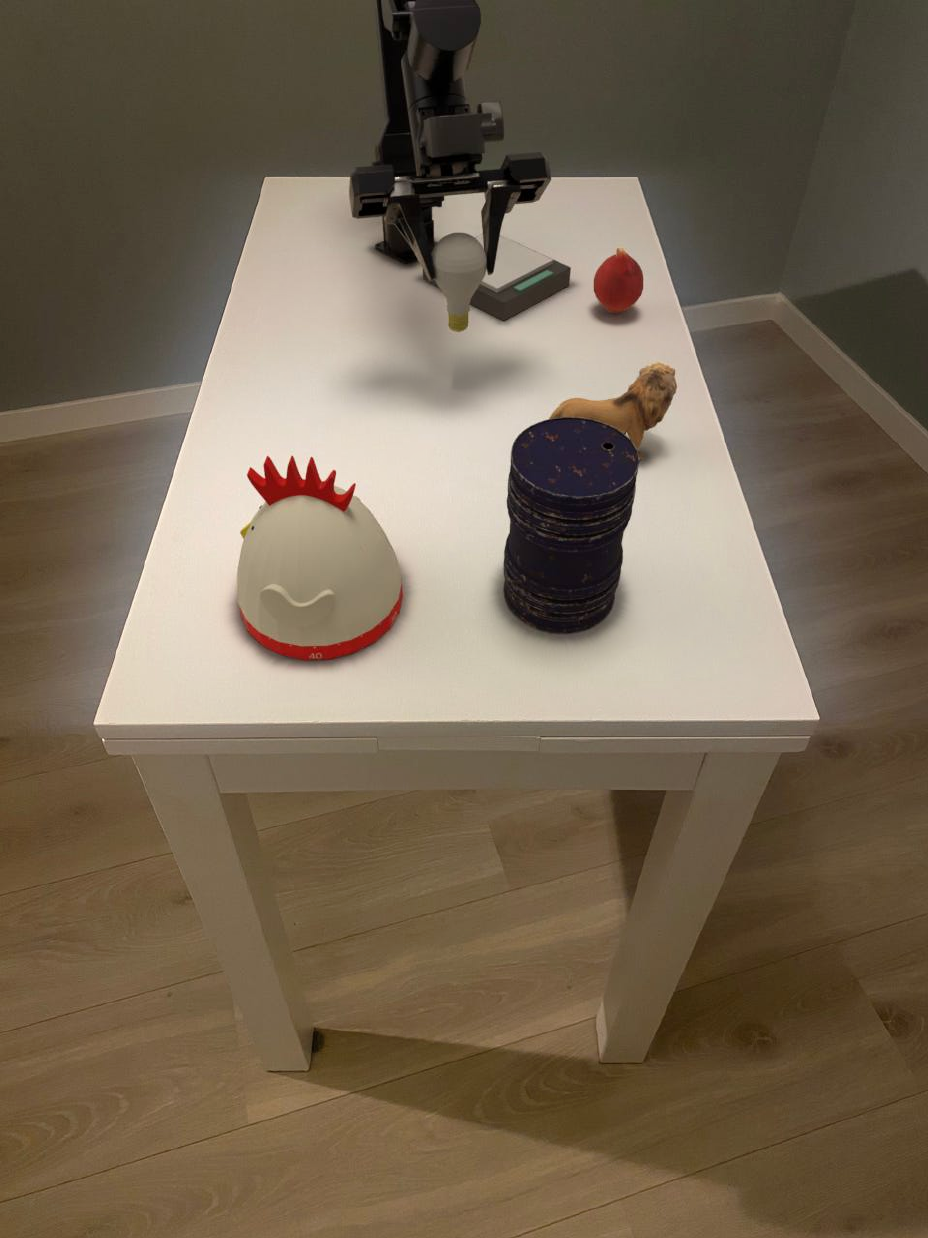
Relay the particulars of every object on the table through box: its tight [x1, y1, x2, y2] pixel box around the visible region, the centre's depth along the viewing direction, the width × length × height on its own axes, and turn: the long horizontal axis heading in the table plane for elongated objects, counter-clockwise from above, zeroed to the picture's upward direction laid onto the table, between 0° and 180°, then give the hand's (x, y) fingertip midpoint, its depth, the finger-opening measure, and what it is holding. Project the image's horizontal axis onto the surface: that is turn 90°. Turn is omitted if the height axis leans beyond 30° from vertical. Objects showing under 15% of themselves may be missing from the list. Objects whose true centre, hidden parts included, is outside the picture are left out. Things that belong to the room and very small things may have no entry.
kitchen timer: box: [236, 455, 404, 661], centre depth 75 cm, size 14×14×15 cm
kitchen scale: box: [422, 232, 572, 322], centre depth 116 cm, size 14×12×3 cm
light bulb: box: [431, 232, 487, 333], centre depth 92 cm, size 6×6×10 cm
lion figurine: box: [548, 362, 678, 462], centre depth 91 cm, size 15×5×9 cm, turn 110°
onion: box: [593, 247, 644, 314], centre depth 109 cm, size 6×6×8 cm
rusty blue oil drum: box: [502, 417, 640, 635], centre depth 76 cm, size 10×10×15 cm
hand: (461, 276), depth 90 cm, fingers closed on light bulb, 5 cm apart
